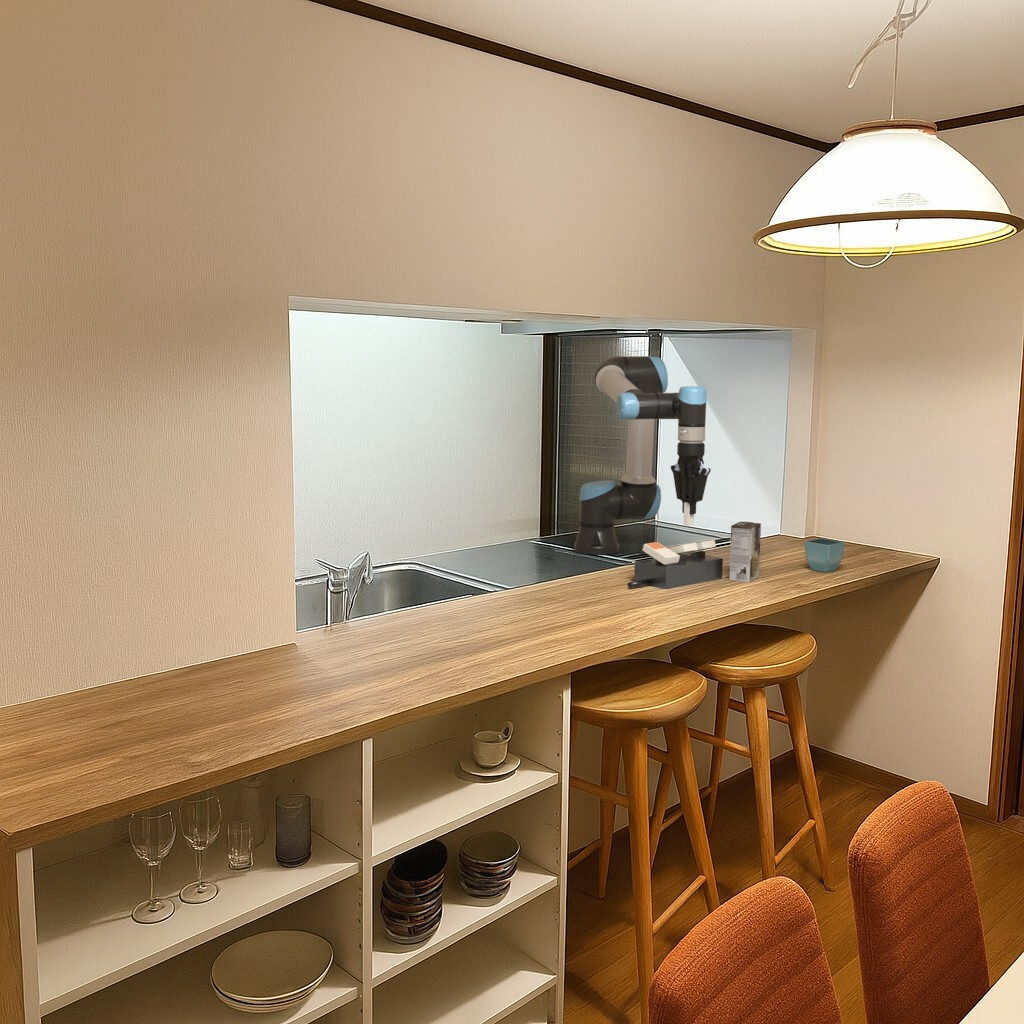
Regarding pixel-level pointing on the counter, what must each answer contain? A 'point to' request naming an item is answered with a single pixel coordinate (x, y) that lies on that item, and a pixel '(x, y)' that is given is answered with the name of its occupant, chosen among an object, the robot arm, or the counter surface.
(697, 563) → the dark gray long block
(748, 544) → the coffee box
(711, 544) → the rocker
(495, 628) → the counter surface
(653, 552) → the rocker
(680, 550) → the rocker
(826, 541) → the flower pot
